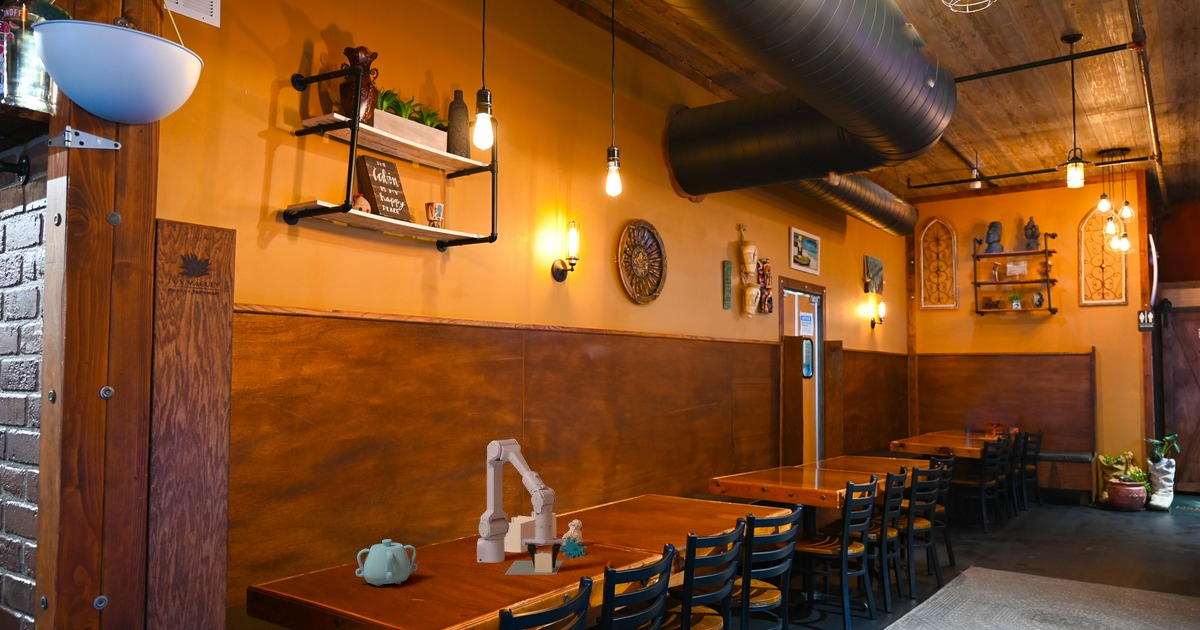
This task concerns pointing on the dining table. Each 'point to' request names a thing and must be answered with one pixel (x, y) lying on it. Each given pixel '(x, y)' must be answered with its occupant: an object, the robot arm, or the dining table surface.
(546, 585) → the dining table surface
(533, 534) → the storage container
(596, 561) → the dining table surface
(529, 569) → the base plate
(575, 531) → the bust
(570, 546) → the gear
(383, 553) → the decorative pot
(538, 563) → the cabinet with handle
